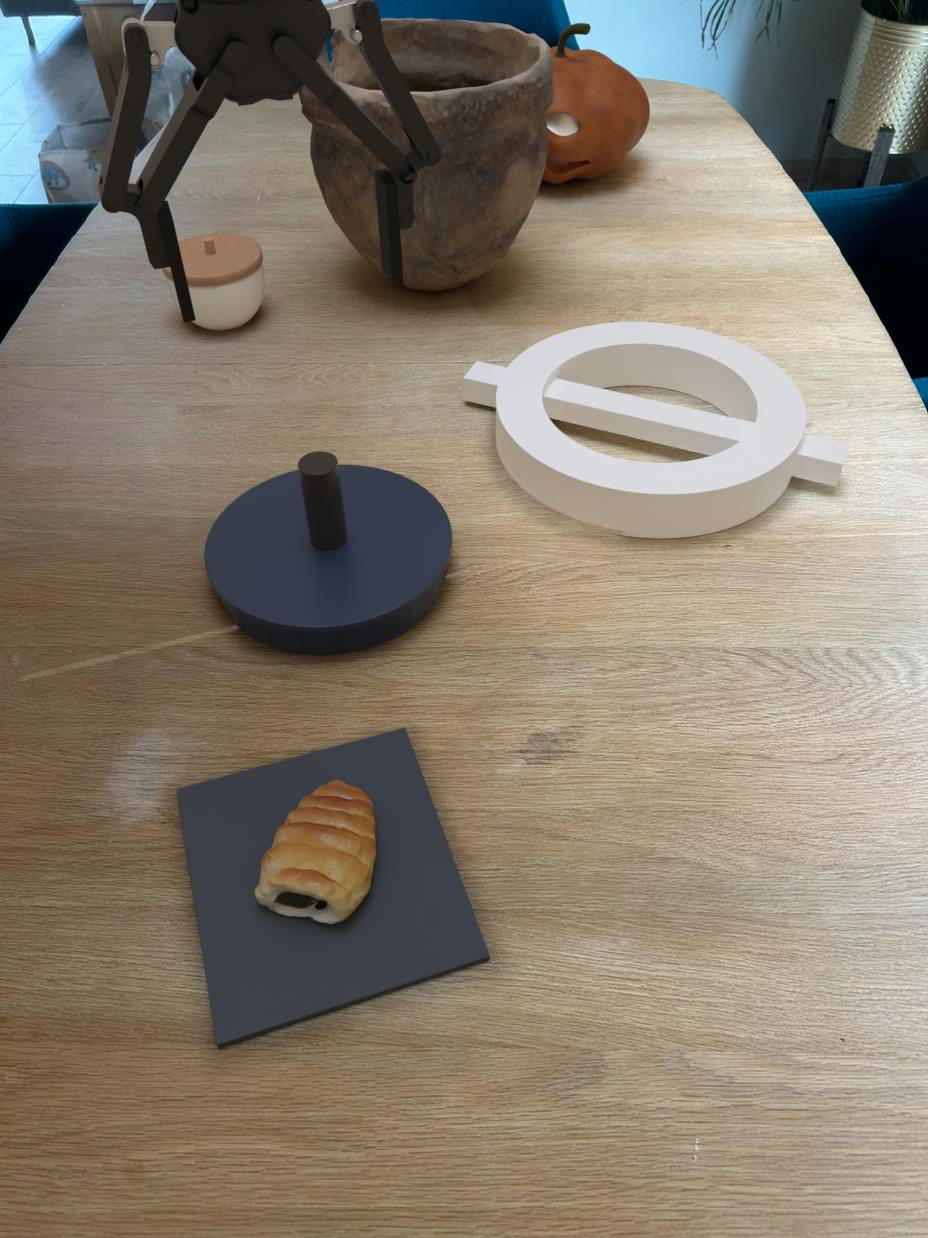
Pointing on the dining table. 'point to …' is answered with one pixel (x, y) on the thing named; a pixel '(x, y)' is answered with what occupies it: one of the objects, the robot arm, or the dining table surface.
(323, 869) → the pastry
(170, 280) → the trinket box
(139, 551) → the dining table surface
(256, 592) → the lid
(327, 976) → the mat
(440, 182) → the clay pot
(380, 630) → the dark blue ring
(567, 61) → the pumpkin
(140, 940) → the dining table surface
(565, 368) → the white circle with bar
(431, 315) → the dining table surface
